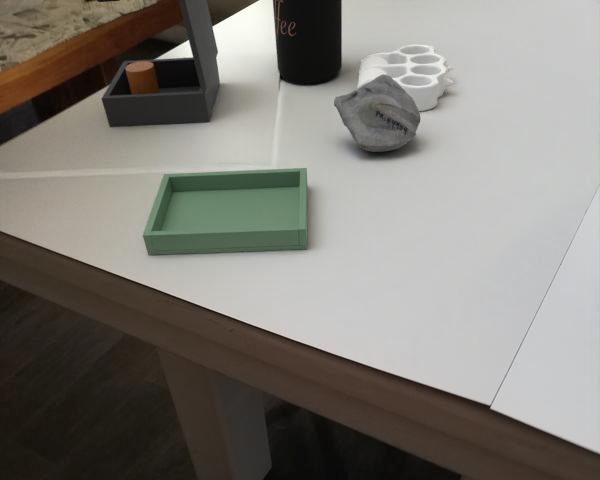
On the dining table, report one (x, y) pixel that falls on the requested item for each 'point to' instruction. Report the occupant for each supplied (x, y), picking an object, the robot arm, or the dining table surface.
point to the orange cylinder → (142, 78)
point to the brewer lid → (200, 37)
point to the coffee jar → (308, 39)
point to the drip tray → (229, 212)
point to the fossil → (379, 115)
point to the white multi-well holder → (410, 72)
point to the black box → (162, 96)
